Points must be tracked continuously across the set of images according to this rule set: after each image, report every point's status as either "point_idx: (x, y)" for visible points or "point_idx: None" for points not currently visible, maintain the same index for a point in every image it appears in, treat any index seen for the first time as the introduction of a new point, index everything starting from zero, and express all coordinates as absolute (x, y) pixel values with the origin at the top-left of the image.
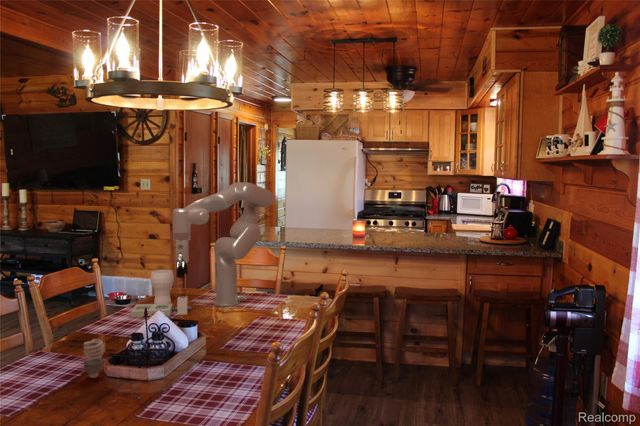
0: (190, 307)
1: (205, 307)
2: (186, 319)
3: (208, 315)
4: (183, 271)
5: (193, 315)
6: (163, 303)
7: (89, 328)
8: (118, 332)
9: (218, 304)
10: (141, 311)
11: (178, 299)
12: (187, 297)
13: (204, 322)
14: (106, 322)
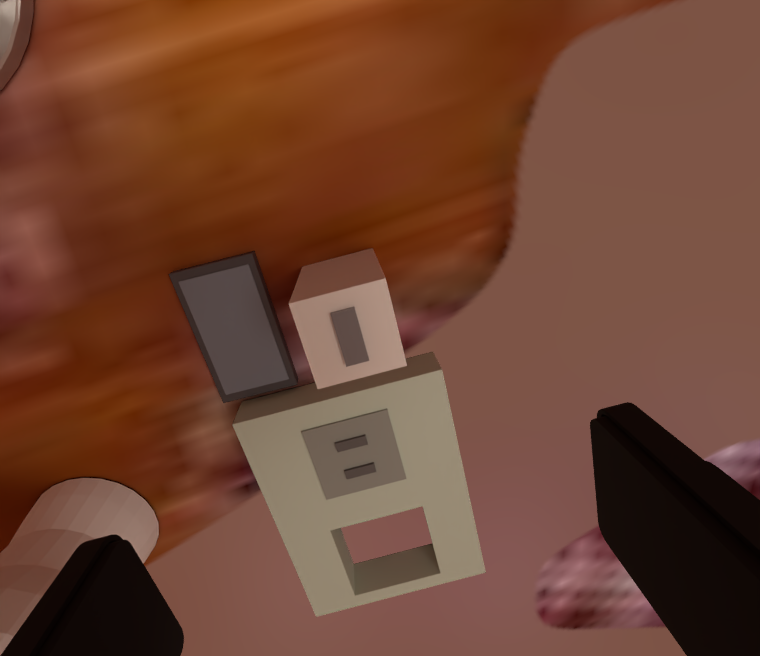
0: (211, 275)
1: (123, 155)
2: (510, 203)
3: (383, 39)
4: (748, 520)
5: (397, 183)
6: (143, 506)
7: (656, 615)
8: (742, 483)
9: (23, 15)
10: (475, 526)
11: (403, 354)
12: (292, 300)
13: (598, 13)
14: (565, 600)
